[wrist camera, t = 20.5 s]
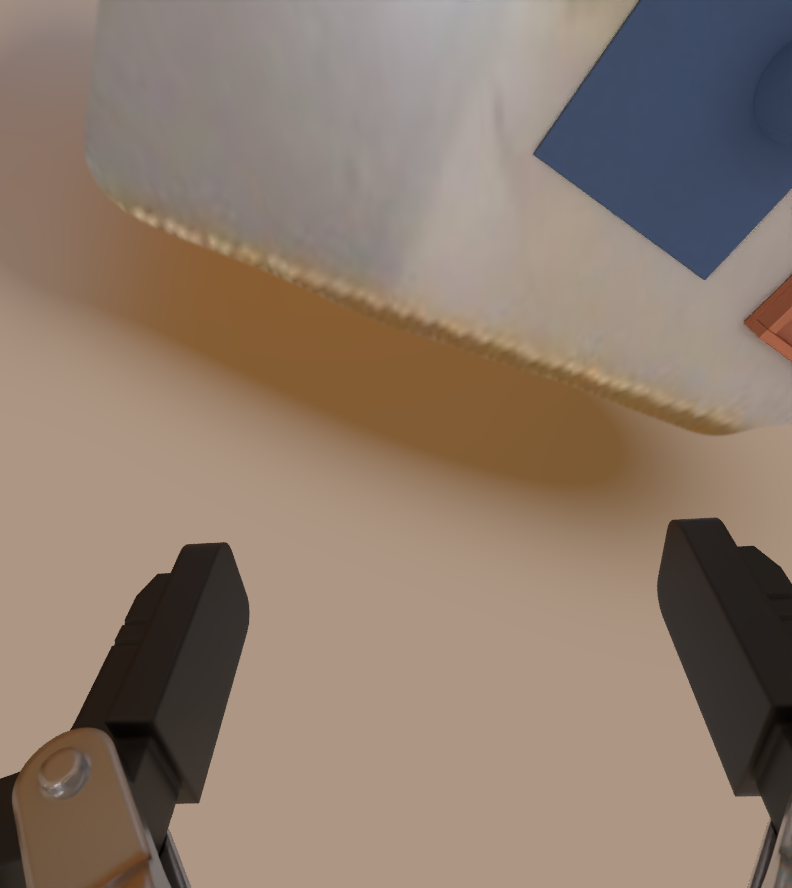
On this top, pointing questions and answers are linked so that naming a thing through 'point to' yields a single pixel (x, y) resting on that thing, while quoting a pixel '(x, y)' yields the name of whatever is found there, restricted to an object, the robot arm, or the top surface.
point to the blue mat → (680, 126)
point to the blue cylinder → (776, 99)
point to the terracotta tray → (775, 320)
